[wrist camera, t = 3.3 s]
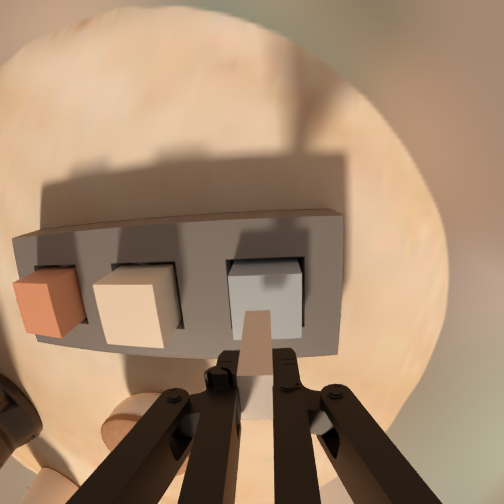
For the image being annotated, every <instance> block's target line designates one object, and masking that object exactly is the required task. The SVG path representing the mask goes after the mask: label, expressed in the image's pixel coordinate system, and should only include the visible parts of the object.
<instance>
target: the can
mask: <svg viewBox="0 0 504 504" xmlns="http://www.w3.org/2000/svg"><path fill="white" fill-rule="evenodd" d="M78 489H79V488H78V487H77V486H76V485H75V484H74V483H73V482H72V481H70V480H69V479H68V478H66V477H65V476H63V475H61V474H60V473H58V472H56V471H54V470H52V469H50V468H42V469H41V470H40V472H39V473H38V475H37V476H36V478H35V479H34V481H33V482H32V484H31V485H30V487H29V488H28V490H27V491H26V493H25V494H24V496H23V498H22V499H21V501H20V502H19V504H65V503H66V502H67V501H68V500H69V499H70V498H71V497H72V495H73V494H74V493H75V492H76V491H77V490H78Z"/></svg>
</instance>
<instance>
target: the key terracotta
mask: <svg viewBox="0 0 504 504" xmlns="http://www.w3.org/2000/svg"><path fill="white" fill-rule="evenodd" d="M13 287H14V291H15V295H16V299H17V302H18V306H19V309H20V313H21V316H22V319H23V323H24V326H25V329H26V332H27V333H32V334H38V335H44V336H50V337H56V338H63V337H64V336H65V335H66V334H67V333H69V332H70V331H71V330H72V329H73V328H74V327H76V326H77V325H78V324H79V323H80V322H81V321H83V320H84V319H85V318H86V317H87V315H86V311H85V307H84V303H83V298H82V294H81V290H80V285H79V280H78V275H77V270H76V267H49V268H42V269H40V270H37V271H35V272H33V273H31V274H29V275H27V276H25V277H23V278H21V279H19V280H17V281H15V282H13Z"/></svg>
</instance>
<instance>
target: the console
mask: <svg viewBox="0 0 504 504" xmlns="http://www.w3.org/2000/svg"><path fill="white" fill-rule="evenodd" d="M343 233H344V221H343V215H341V214H340V213H338V212H336V211H334V210H332V209H303V210H276V211H253V212H234V213H216V214H200V215H186V216H172V217H159V218H147V219H135V220H124V221H114V222H104V223H94V224H84V225H75V226H66V227H58V228H50V229H42V230H37V231H34V232H31V233H27V234H24V235H21V236H18V237H15V238H12V243H13V248H14V254H15V259H16V264H17V269H18V274H19V278H20V279H21V278H23V277H25V276H27V275H29V274H31V273H33V272H35V271H37V270H40V269H42V268H49V267H76V270H77V275H78V280H79V285H80V290H81V294H82V298H83V303H84V307H85V311H86V315H87V317H86V318H85V319H84V320H83V321H81V322H80V323H79V324H78V325H77V326H76V327H74V328H73V329H72V330H71V331H70V332H69V333H67V334H66V335H65V336H64V337H63V338H56V337H50V336H44V335H38V334H35V335H36V338H37V341H38V342H43V343H48V344H54V345H60V346H66V347H73V348H80V349H87V350H94V351H102V352H111V353H120V354H131V355H142V356H155V357H172V358H194V359H218V356H219V355H220V354H221V353H222V352H223V351H224V350H240V347H241V340H234V339H233V329H232V318H231V307H230V295H229V284H228V275H229V272H230V270H231V268H232V265H233V263H234V260H235V259H251V258H276V257H296V258H297V261H298V264H299V267H300V270H301V272H302V337H301V338H293V339H272V348H292V349H293V350H294V351H295V352H296V358H298V357H314V356H327V355H338V344H339V331H340V318H341V301H342V280H343ZM162 264H174V270H175V278H176V285H177V292H178V299H179V306H180V312H181V321H180V322H179V324H178V326H177V327H176V329H175V331H174V332H173V334H172V336H171V338H170V339H169V341H168V343H167V344H166V346H165V348H151V347H136V346H124V345H113V344H107V341H106V338H105V334H104V330H103V327H102V323H101V319H100V315H99V311H98V307H97V302H96V298H95V293H94V289H93V284H94V283H96V282H97V281H99V280H100V279H102V278H103V277H105V276H106V275H108V274H109V273H111V272H112V271H114V270H116V269H117V268H119V267H120V266H129V265H162Z"/></svg>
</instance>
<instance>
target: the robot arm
mask: <svg viewBox="0 0 504 504" xmlns="http://www.w3.org/2000/svg"><path fill="white" fill-rule="evenodd" d="M204 377H205V383H206V388H207V389H206V391H204V392H202V393H198V394H193V395H189V394H188V392H187V391H186V390H183V389H180V388H173V389H169V390H166V391H164V392H163V393H162V394H161V395H160V396H159V397H158V398H157V400H156V401H155V402H154V403H153V404H152V405H151V407H150V408H149V409H148V410H147V411H146V412H145V414H144V415H143V416H142V417H141V418H140V419H139V421H138V422H137V423H136V424H135V425H134V426H133V428H132V429H131V430H130V431H129V432H128V433H127V435H126V436H125V437H124V438H123V439H122V440H121V441H120V443H119V444H118V445H117V446H116V447H115V448H114V449H113V451H112V452H111V453H110V454H109V455H108V456H107V457H106V459H105V460H104V461H103V462H102V463H101V464H100V465H99V466H98V468H97V469H96V470H95V471H94V472H93V473H92V474H91V475H90V477H89V478H88V479H87V480H86V481H85V482H84V483H83V484H82V485H81V487H80V488H79V489H78V490H77V491H76V492H75V493H74V494H73V495H72V497H71V498H70V499H69V500H68V501H67V502H66V503H65V504H158V502H159V501H160V499H161V498H162V496H163V495H164V493H165V492H166V490H167V488H168V487H169V485H170V484H171V482H172V481H173V479H174V477H175V476H176V474H177V473H178V471H179V469H180V468H181V466H182V465H183V463H184V461H185V460H186V458H187V456H188V455H189V453H190V455H189V459H188V463H187V467H186V472H185V476H184V480H183V484H182V488H181V492H180V496H179V500H178V504H234V503H235V492H236V481H237V470H238V459H239V448H240V436H241V422H240V420H273V437H274V498H275V504H321V500H320V492H319V485H318V478H317V471H316V464H315V457H314V451H313V444H312V438H311V433H312V434H316V435H317V438H318V440H319V442H320V444H321V445H322V447H323V449H324V451H325V453H326V455H327V456H328V458H329V460H330V462H331V464H332V465H333V467H334V469H335V471H336V472H337V474H338V476H339V478H340V480H341V481H342V483H343V485H344V487H345V488H346V490H347V492H348V494H349V495H350V497H351V499H352V501H353V502H354V504H442V503H441V501H440V500H439V499H438V498H437V496H436V495H435V494H434V493H433V492H432V491H431V489H430V488H429V487H428V485H427V484H426V483H425V482H424V481H423V479H422V478H421V477H420V476H419V475H418V473H417V472H416V471H415V469H414V468H413V467H412V466H411V465H410V463H409V462H408V461H407V460H406V458H405V457H404V456H403V455H402V454H401V452H400V451H399V450H398V449H397V447H396V446H395V445H394V444H393V442H392V441H391V440H390V439H389V437H388V436H387V435H386V434H385V432H384V431H383V430H382V429H381V427H380V426H379V425H378V424H377V422H376V421H375V420H374V419H373V417H372V416H371V415H370V414H369V412H368V411H367V410H366V409H365V407H364V406H363V405H362V404H361V402H360V401H359V400H358V399H357V397H356V396H355V395H354V394H353V392H352V391H351V390H350V389H349V388H348V387H347V386H344V385H341V384H331V385H328V386H325V387H324V388H323V389H322V390H321V391H314V390H310V389H308V388H306V387H304V386H303V385H302V383H301V381H300V375H299V369H298V364H297V358H296V352H295V351H294V350H293V349H292V348H272V338H271V317H270V310H259V311H245V317H244V325H243V332H242V339H241V347H240V350H224V351H223V352H222V353H221V354H220V355H219V356H218V360H217V364H216V366H214V367H211V368H209V369H208V370H206V372H205V373H204ZM41 431H42V423H41V420H40V418H39V416H38V414H37V412H36V411H35V409H34V407H33V406H32V405H31V403H30V402H29V401H28V399H27V398H26V397H25V396H24V394H23V393H22V392H21V391H20V390H19V389H18V388H17V387H16V386H15V385H14V384H13V383H12V382H11V381H9V380H8V379H7V378H6V377H4V376H3V375H1V374H0V469H1V467H2V466H3V465H4V464H5V462H6V461H7V460H8V458H9V457H10V456H11V454H12V453H13V452H14V450H15V449H16V448H18V447H20V446H22V445H24V444H26V443H28V442H29V441H31V440H33V439H35V438H36V437H37V436H38V435H39V434H40V432H41Z"/></svg>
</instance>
